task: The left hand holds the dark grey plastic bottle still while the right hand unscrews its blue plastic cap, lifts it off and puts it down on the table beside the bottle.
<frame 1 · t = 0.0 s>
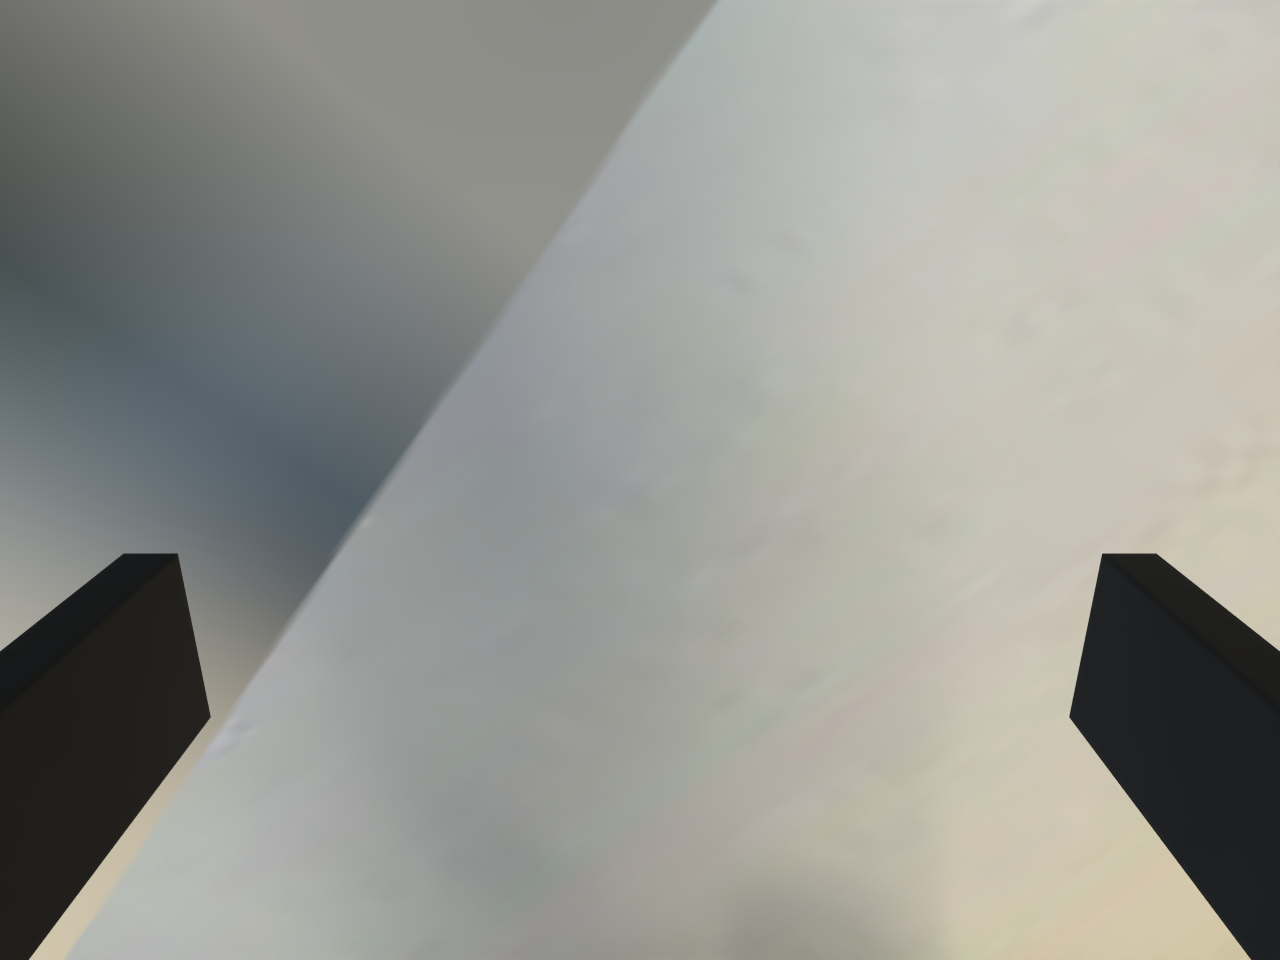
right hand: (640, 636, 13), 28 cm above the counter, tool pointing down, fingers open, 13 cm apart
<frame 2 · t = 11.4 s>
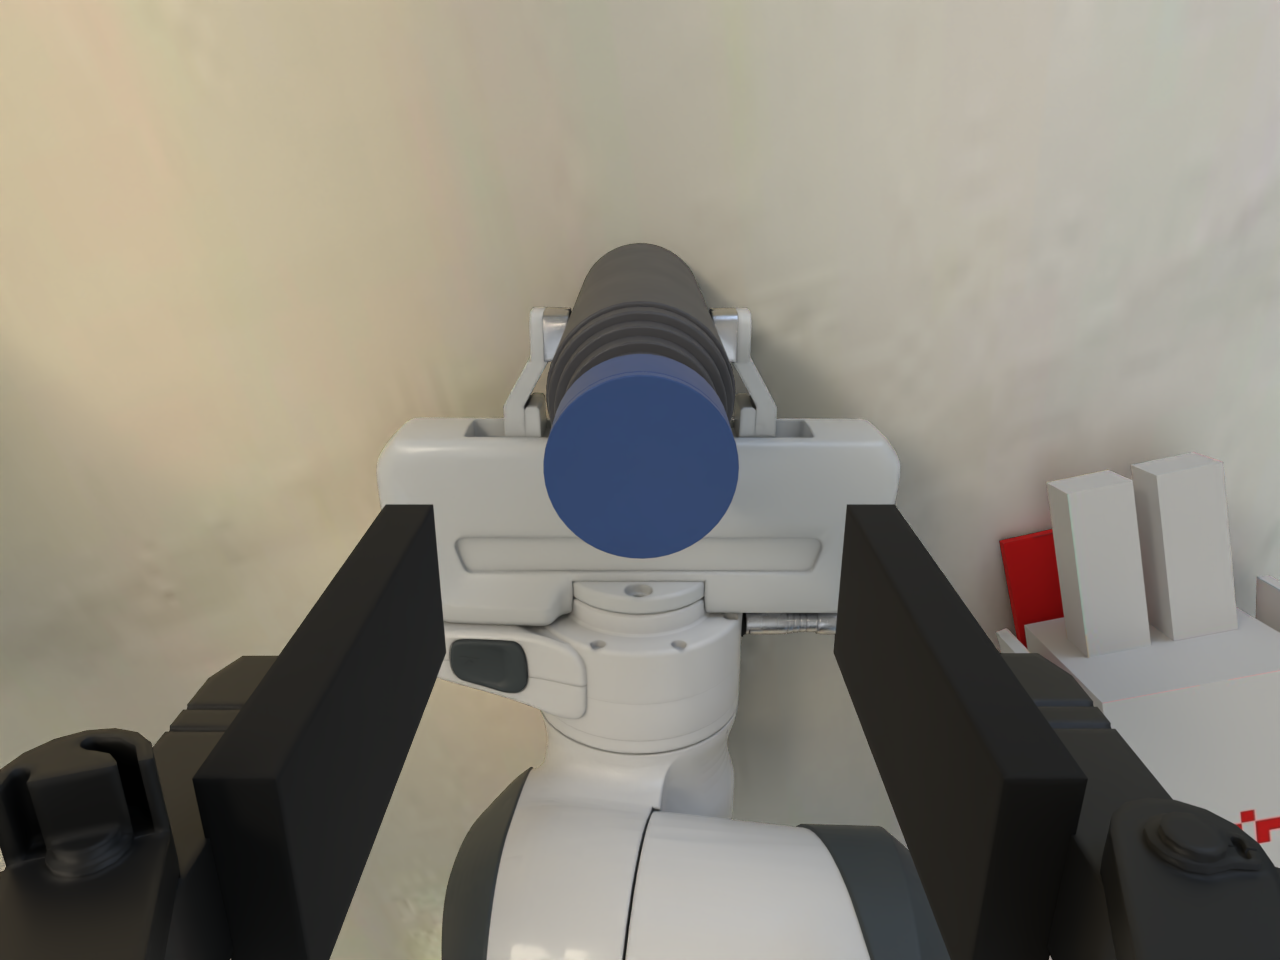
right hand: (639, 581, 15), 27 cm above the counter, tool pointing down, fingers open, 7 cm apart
left hand: (639, 309, 33), fingers closed on bottle, 5 cm apart
bottle: (640, 305, 39), on the counter, touching left hand
toy: (1098, 707, 47), on the counter
cap: (641, 466, 20), point 21 cm above the counter, screwed on, not yet turned
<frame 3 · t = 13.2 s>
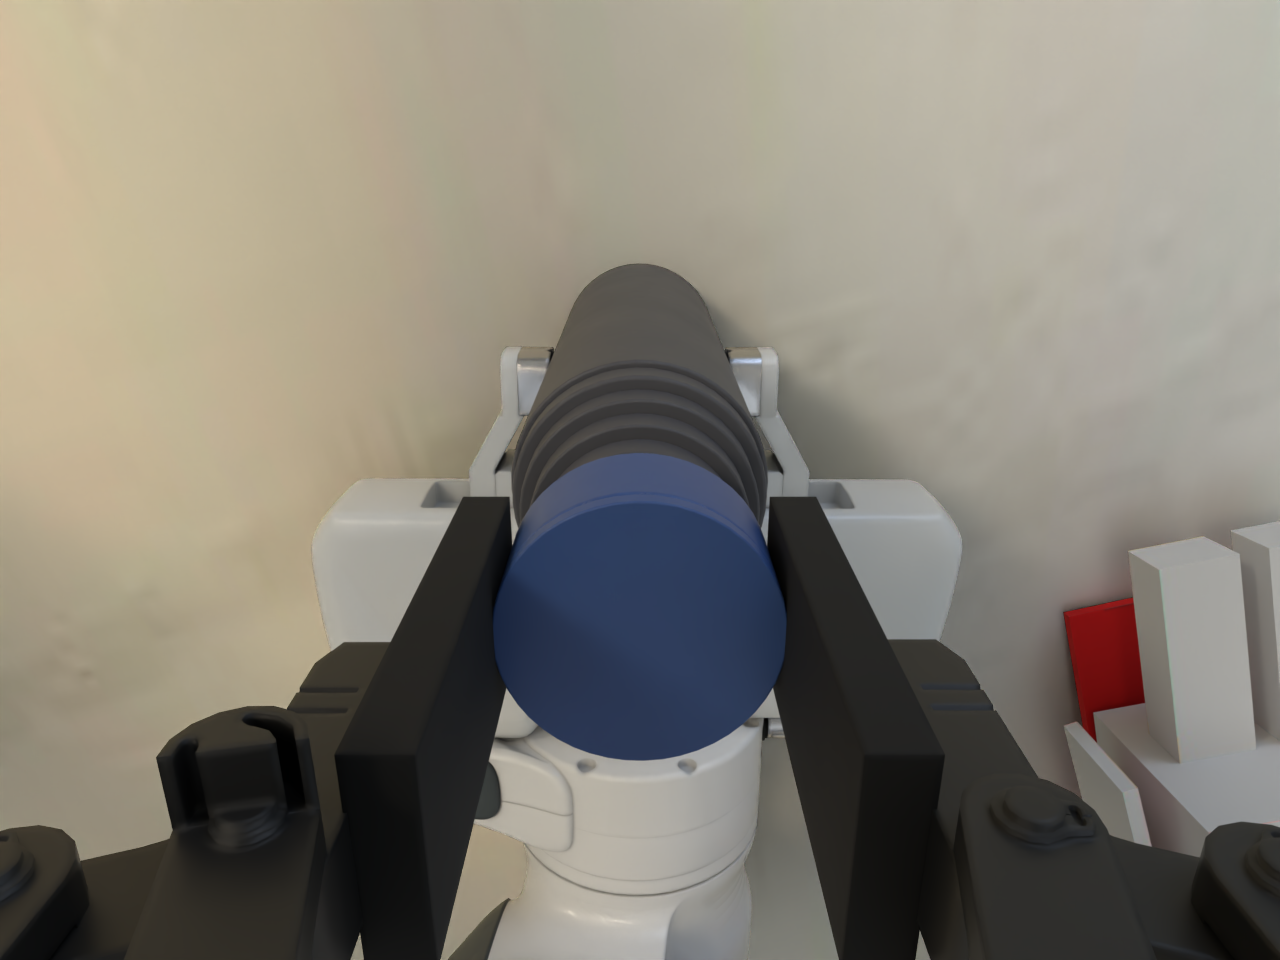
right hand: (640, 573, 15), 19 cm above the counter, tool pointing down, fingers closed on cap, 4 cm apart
bottle: (639, 337, 33), on the counter, touching left hand
toy: (1172, 799, 40), on the counter
cap: (639, 628, 13), point 21 cm above the counter, screwed on, not yet turned, touching right hand
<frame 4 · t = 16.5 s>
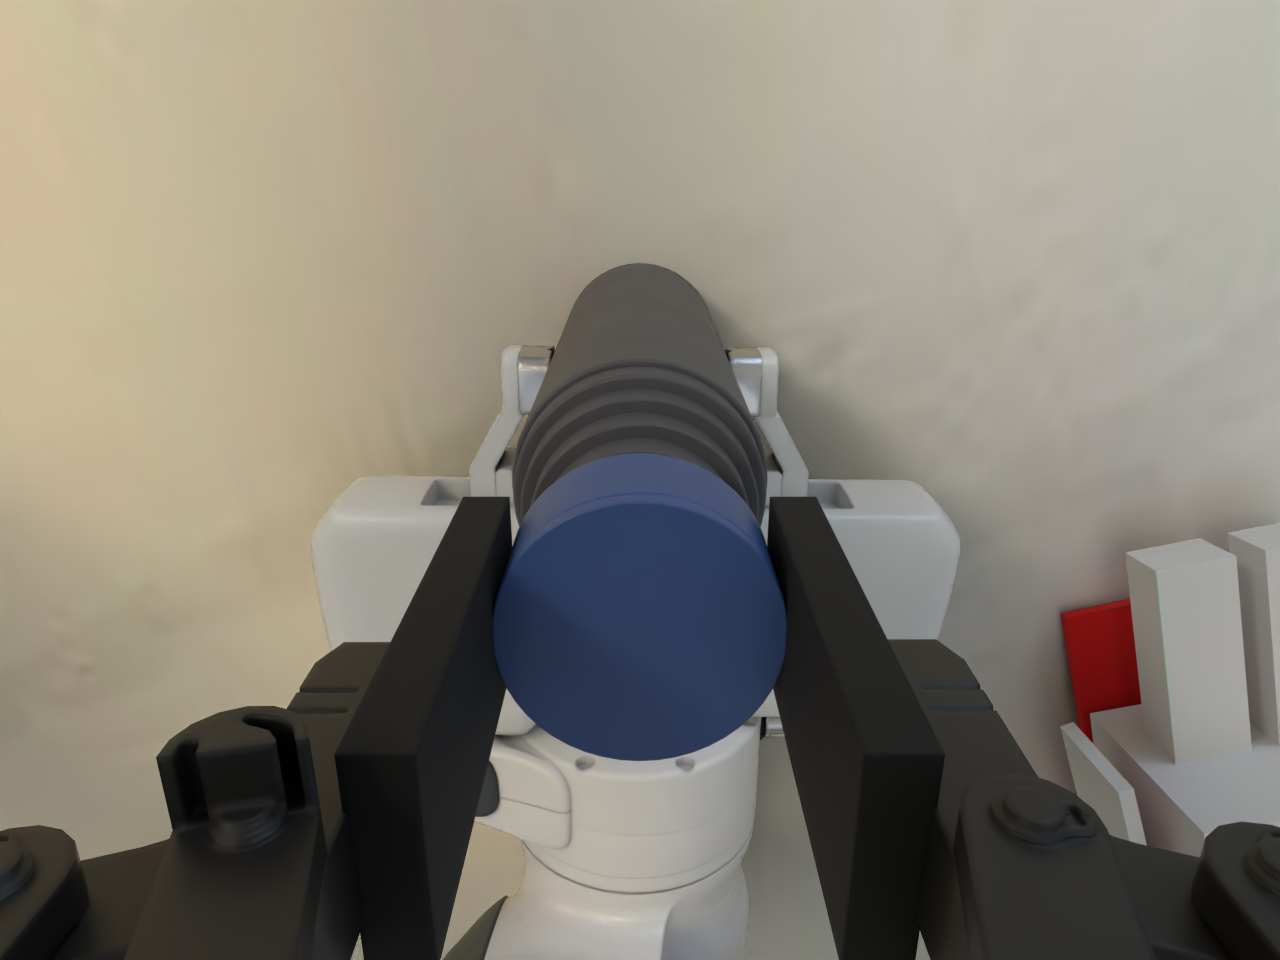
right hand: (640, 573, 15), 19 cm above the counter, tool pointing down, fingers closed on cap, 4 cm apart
bottle: (639, 337, 33), on the counter, touching left hand
toy: (1168, 800, 40), on the counter
cap: (639, 629, 13), point 21 cm above the counter, turned 111° so far, risen 0.1 cm, still on its thread, touching right hand
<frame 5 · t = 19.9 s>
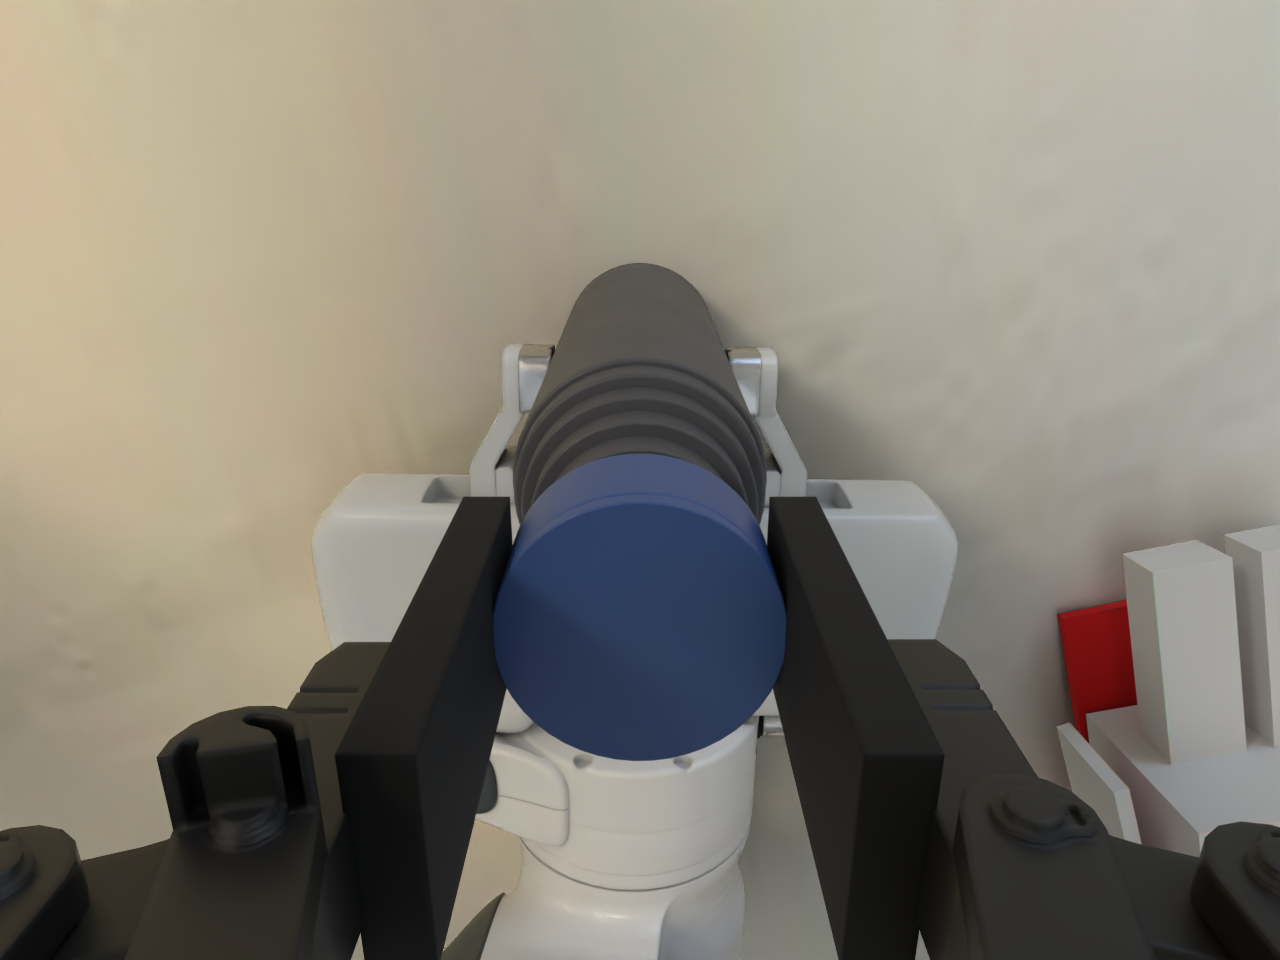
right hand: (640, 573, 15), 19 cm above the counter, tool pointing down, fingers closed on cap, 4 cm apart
bottle: (639, 336, 33), on the counter, touching left hand
toy: (1163, 801, 41), on the counter
cap: (639, 629, 13), point 21 cm above the counter, turned 222° so far, risen 0.2 cm, still on its thread, touching right hand
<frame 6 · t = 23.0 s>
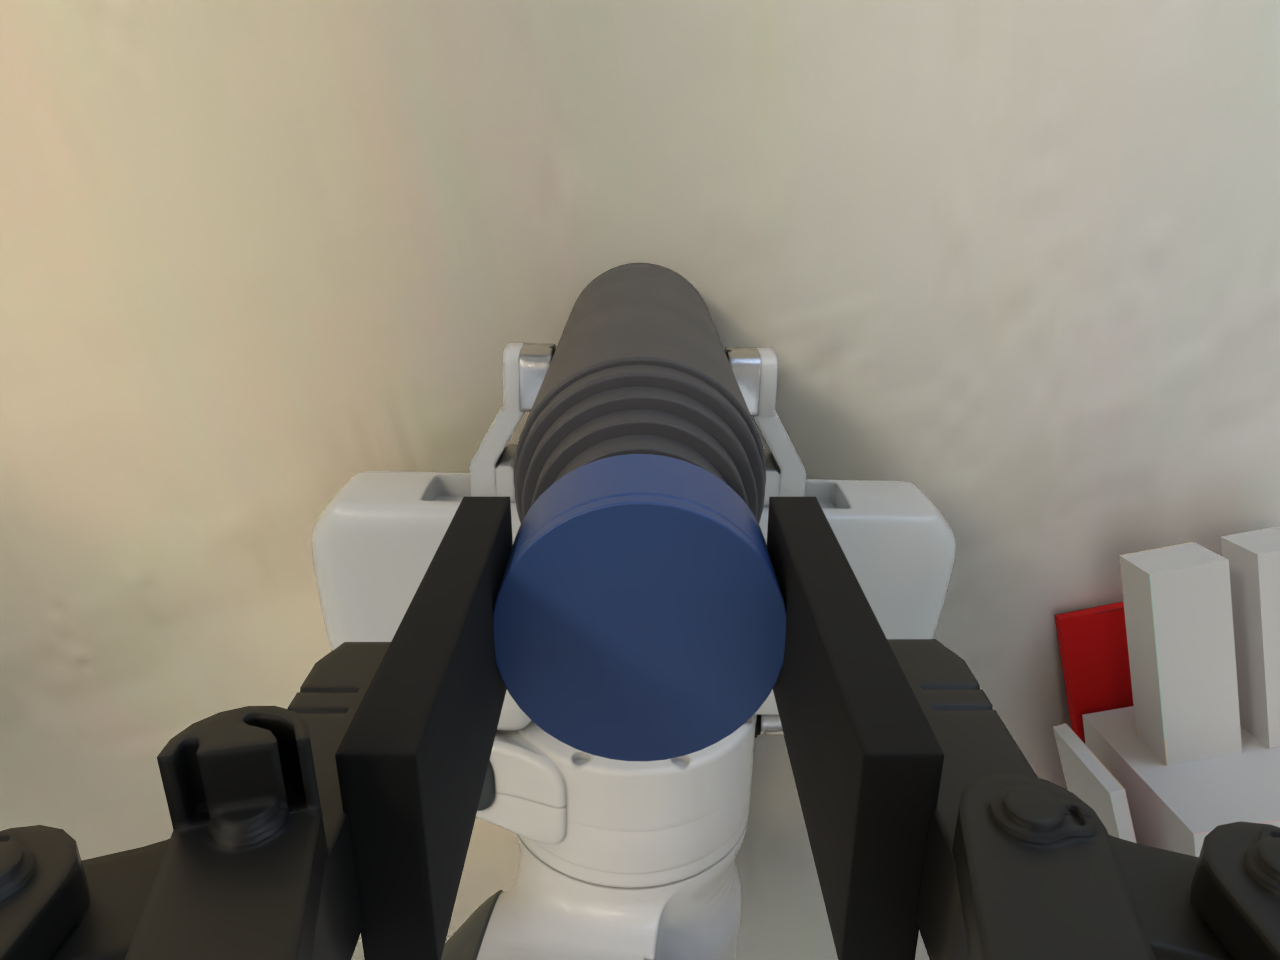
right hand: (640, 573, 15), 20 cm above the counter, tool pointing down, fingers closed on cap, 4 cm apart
bottle: (639, 336, 33), on the counter, touching left hand
toy: (1159, 802, 41), on the counter
cap: (639, 629, 13), point 21 cm above the counter, turned 332° so far, risen 0.3 cm, still on its thread, touching right hand
when the right hand's fingers open (2 cm above the counter, at t = 29.4 s): cap drops 2 cm, point 2 cm above the counter.
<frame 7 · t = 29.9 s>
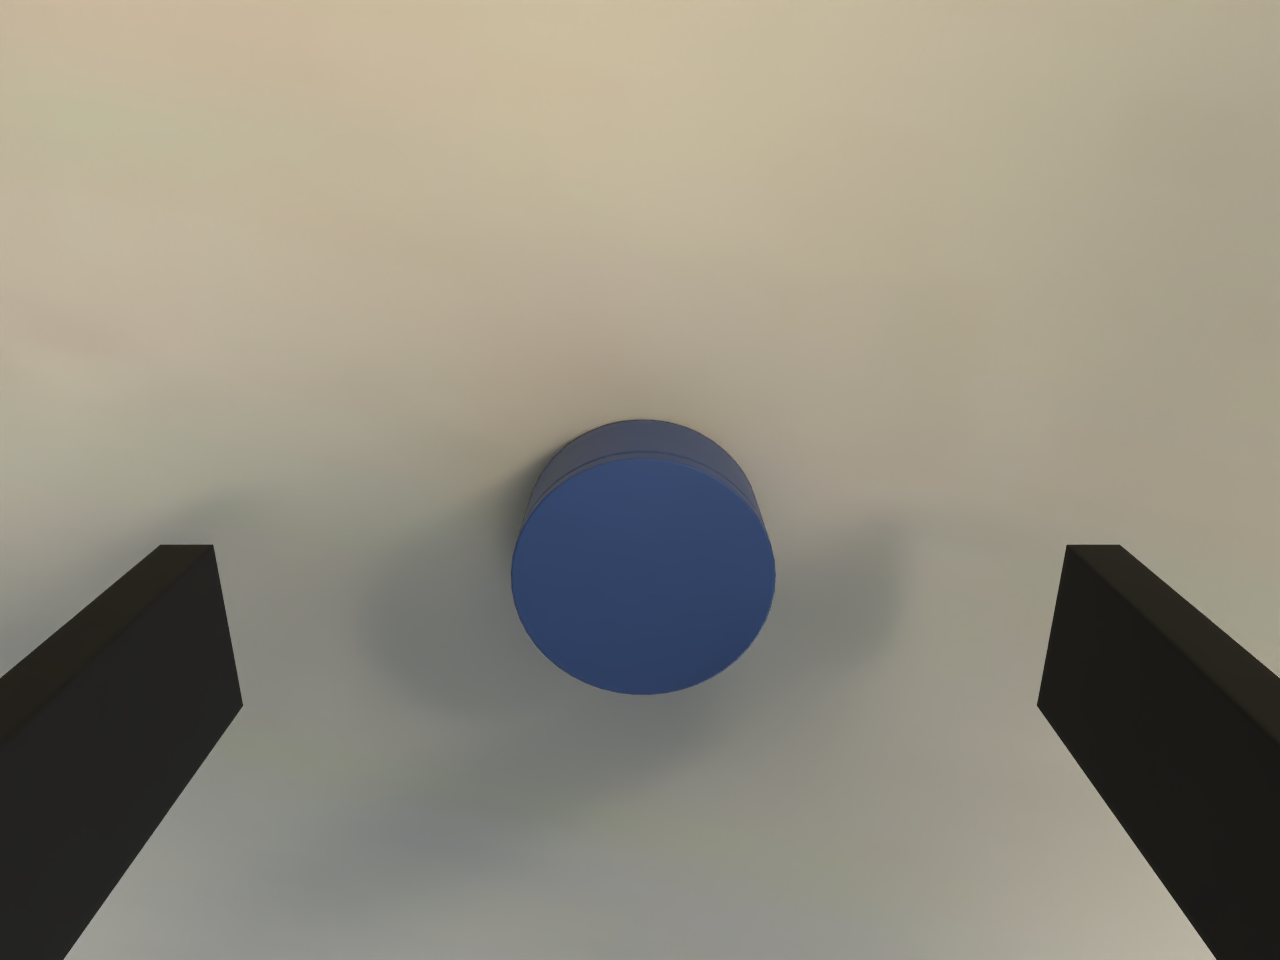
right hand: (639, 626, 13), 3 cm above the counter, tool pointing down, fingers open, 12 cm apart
cap: (643, 574, 15), point 2 cm above the counter, off its thread
when the left hand's fingers open (6 cm above the counter, at t = 30.7 s): bottle stays where it is, on the counter.
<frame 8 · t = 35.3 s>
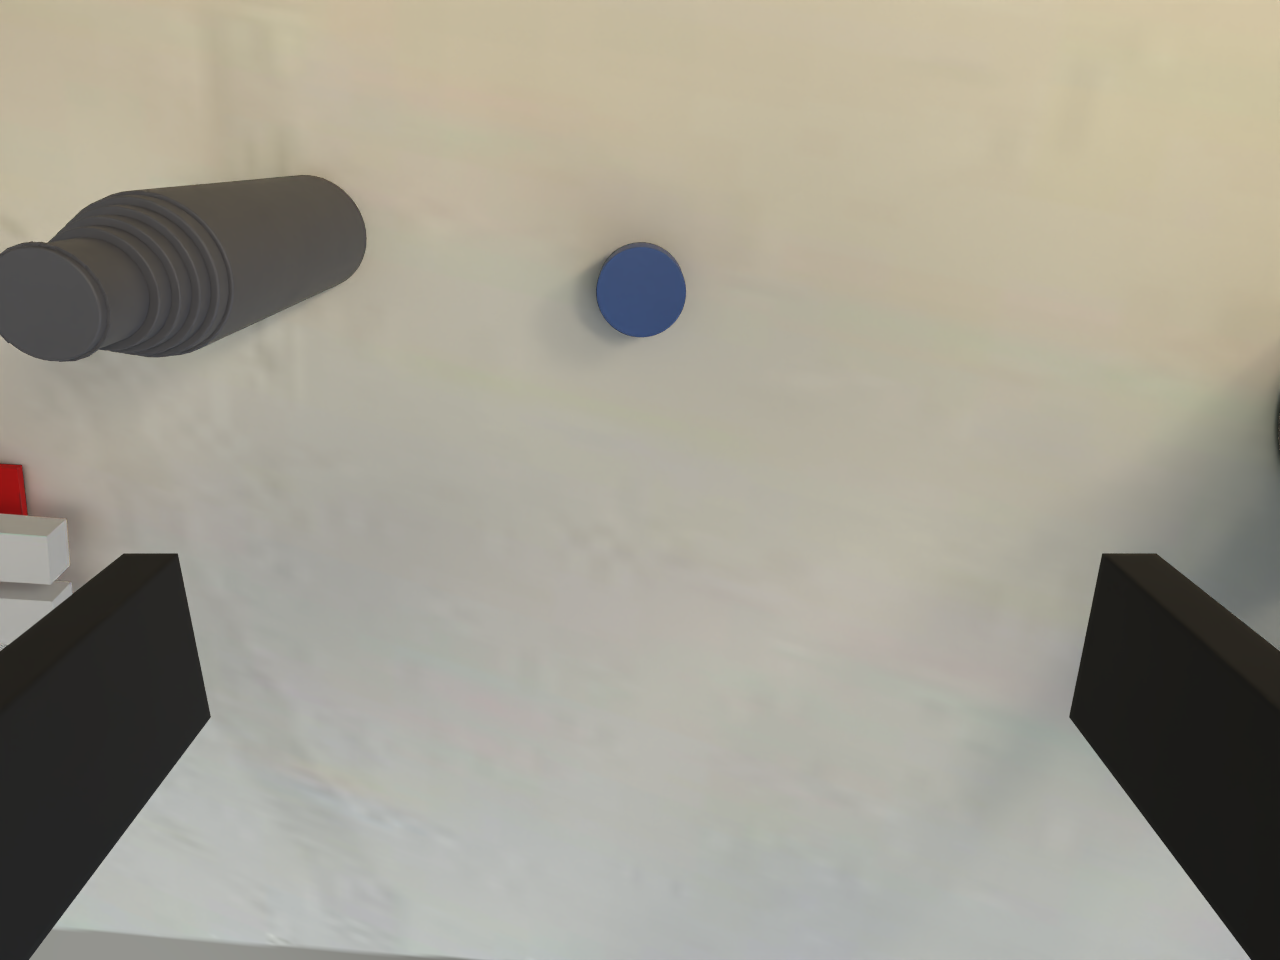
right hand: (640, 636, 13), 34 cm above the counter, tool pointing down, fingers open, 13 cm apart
bottle: (311, 232, 44), on the counter
cap: (641, 291, 43), point 2 cm above the counter, off its thread
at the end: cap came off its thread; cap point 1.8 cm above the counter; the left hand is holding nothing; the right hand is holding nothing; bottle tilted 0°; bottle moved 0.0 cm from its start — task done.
